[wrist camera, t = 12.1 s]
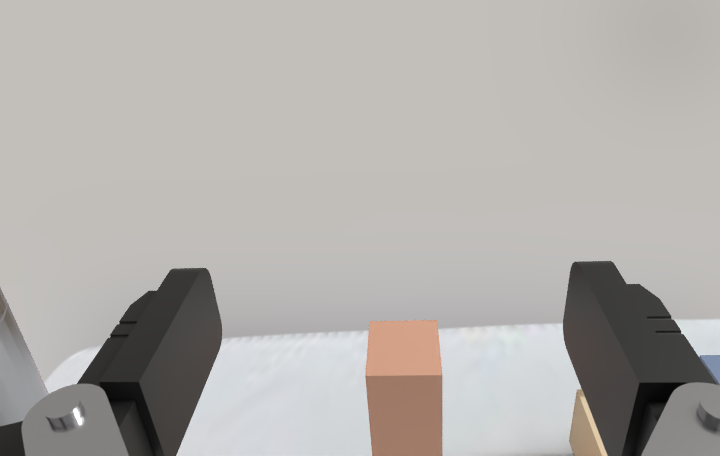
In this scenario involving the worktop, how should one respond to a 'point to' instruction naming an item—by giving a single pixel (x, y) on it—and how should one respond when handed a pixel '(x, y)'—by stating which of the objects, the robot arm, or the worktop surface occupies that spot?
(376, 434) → the pull-out drawer
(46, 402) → the robot arm
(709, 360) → the sleeve
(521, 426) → the worktop surface
